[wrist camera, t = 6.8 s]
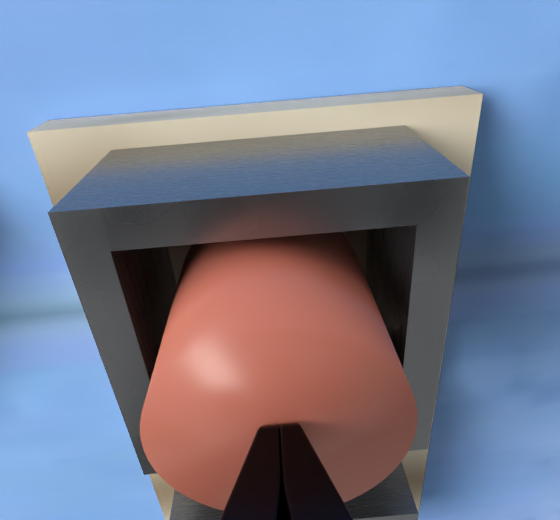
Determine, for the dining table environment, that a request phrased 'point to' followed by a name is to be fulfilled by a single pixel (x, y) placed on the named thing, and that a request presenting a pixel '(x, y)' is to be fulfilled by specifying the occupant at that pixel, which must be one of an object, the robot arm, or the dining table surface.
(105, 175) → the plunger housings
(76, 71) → the dining table surface
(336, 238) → the red plunger
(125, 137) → the board
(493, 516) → the dining table surface
